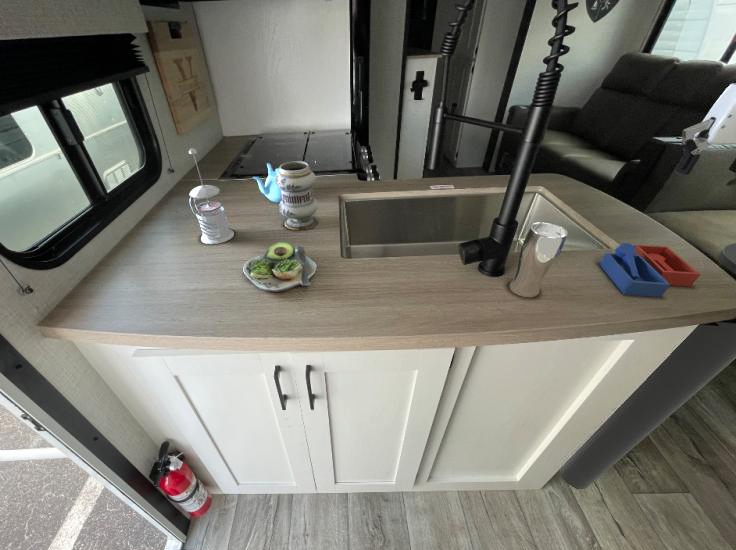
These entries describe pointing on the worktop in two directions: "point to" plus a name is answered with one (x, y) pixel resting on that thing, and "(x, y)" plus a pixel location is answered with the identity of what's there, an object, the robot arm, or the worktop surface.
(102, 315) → the worktop surface
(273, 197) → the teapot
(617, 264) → the blue bin
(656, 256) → the red spoon
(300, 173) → the apothecary jar
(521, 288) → the beer glass
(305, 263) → the salad plate
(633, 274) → the blue spoon
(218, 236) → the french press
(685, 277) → the red bin
